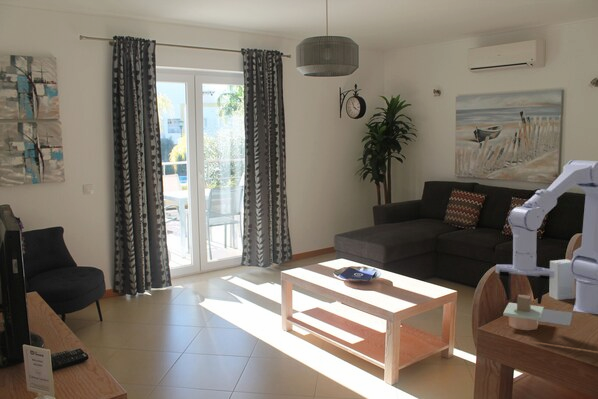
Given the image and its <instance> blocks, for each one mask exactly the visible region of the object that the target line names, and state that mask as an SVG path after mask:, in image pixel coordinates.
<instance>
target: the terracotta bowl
mask: <svg viewBox="0 0 598 399" xmlns="http://www.w3.org/2000/svg"><path fill="white" fill-rule="evenodd" d="M508 326H510V327H512V328H514V329H516V330H523V331H532V330H538V327H539V321H538V320H533V319H526V318H518V317H511V316H508Z"/></svg>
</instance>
